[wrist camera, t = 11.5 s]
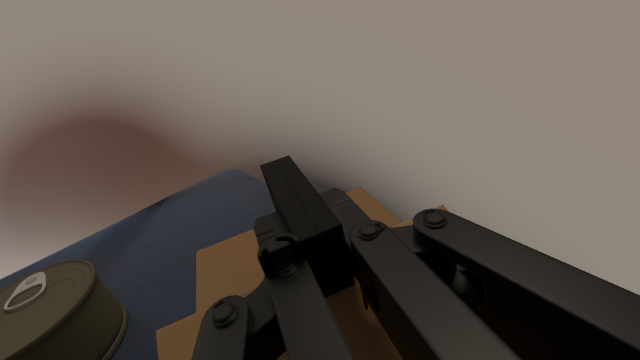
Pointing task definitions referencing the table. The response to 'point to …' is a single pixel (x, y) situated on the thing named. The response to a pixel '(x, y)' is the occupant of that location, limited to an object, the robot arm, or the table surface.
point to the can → (60, 315)
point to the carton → (254, 258)
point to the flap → (354, 321)
